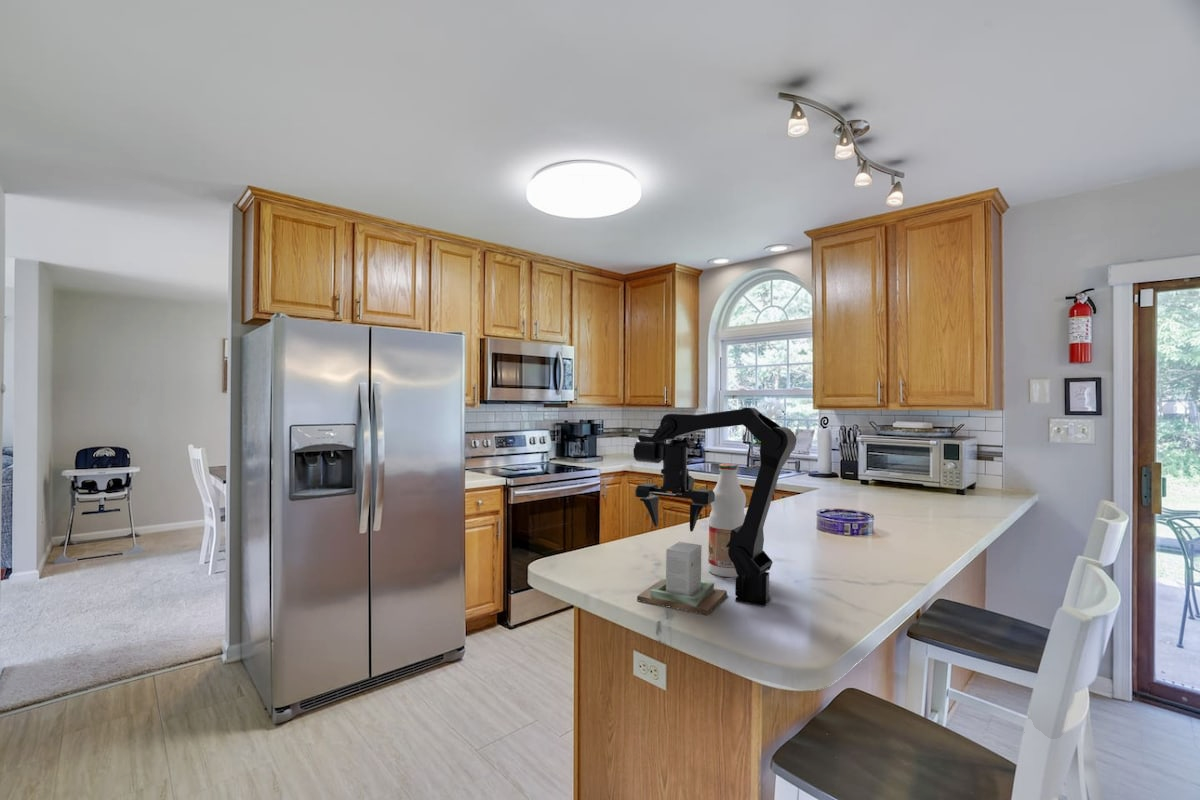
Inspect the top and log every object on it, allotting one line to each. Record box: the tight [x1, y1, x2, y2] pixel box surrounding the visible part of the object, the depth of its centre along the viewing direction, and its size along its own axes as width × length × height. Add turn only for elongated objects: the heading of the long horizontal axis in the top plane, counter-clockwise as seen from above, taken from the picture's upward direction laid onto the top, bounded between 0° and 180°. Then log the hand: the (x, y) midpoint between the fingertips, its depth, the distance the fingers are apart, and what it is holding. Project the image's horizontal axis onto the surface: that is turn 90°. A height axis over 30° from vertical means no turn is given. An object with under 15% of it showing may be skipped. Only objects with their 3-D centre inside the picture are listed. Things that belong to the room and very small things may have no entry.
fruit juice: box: [707, 463, 747, 578], centre depth 144 cm, size 9×9×28 cm
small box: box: [665, 541, 702, 597], centre depth 125 cm, size 8×6×10 cm
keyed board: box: [636, 578, 728, 616], centre depth 125 cm, size 16×14×2 cm
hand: (673, 528), depth 136 cm, fingers open, 9 cm apart
